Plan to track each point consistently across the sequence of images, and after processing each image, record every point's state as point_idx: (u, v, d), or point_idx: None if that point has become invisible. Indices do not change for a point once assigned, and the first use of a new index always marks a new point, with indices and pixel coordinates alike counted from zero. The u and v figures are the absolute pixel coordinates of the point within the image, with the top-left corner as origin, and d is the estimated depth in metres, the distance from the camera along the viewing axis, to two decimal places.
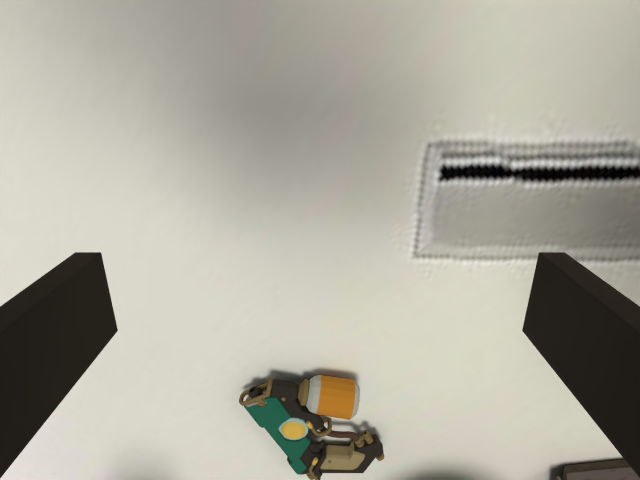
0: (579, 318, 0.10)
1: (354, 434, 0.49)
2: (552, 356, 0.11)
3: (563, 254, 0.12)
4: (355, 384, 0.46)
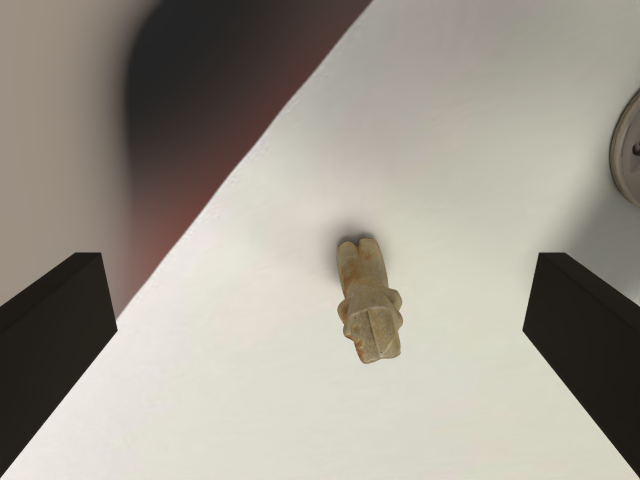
0: (579, 318, 0.10)
1: None
2: (553, 356, 0.11)
3: (563, 254, 0.12)
4: None
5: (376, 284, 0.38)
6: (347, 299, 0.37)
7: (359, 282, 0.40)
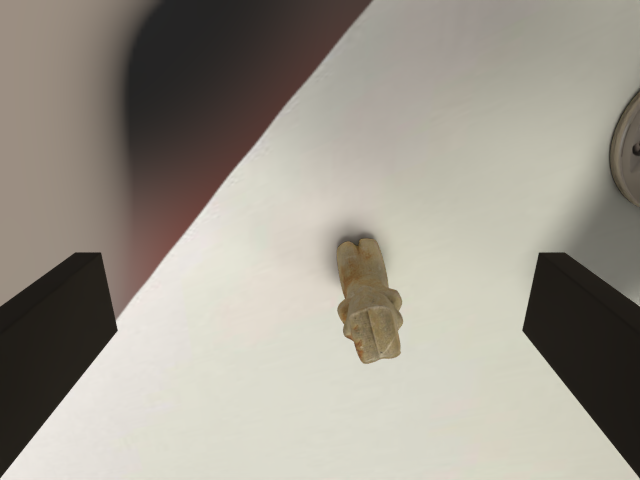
0: (579, 318, 0.10)
1: None
2: (553, 356, 0.11)
3: (563, 254, 0.12)
4: None
5: (376, 284, 0.38)
6: (347, 299, 0.37)
7: (359, 282, 0.40)
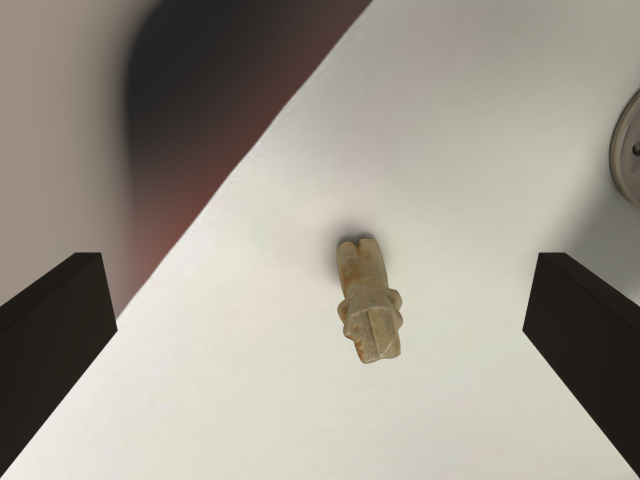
0: (579, 318, 0.10)
1: None
2: (553, 356, 0.11)
3: (563, 254, 0.12)
4: None
5: (376, 284, 0.38)
6: (347, 299, 0.37)
7: (359, 282, 0.40)
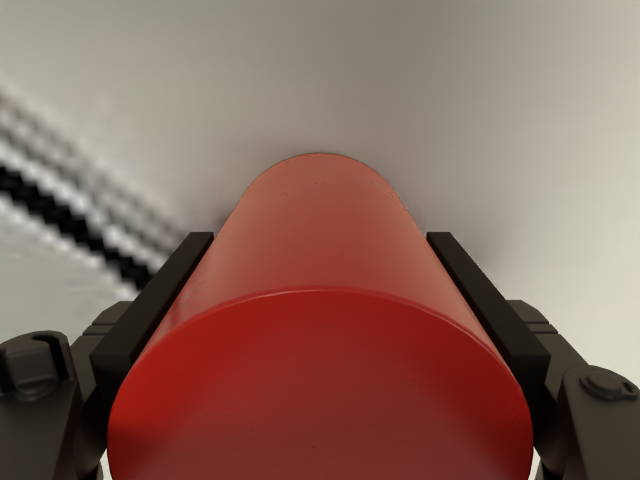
0: None
1: None
2: None
3: (448, 233, 0.14)
4: None
5: None
6: None
7: None
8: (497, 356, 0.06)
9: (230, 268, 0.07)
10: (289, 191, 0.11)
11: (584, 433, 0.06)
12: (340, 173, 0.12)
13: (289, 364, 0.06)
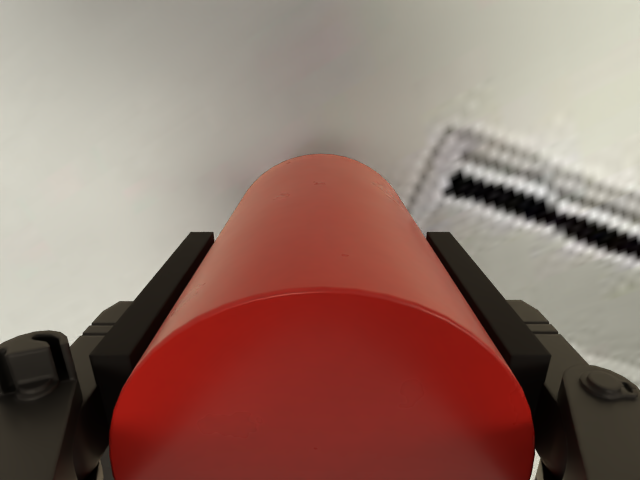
0: None
1: None
2: None
3: (448, 233, 0.14)
4: None
5: None
6: None
7: None
8: (498, 357, 0.06)
9: (232, 269, 0.07)
10: (290, 192, 0.11)
11: (584, 433, 0.06)
12: (341, 174, 0.12)
13: (291, 365, 0.06)
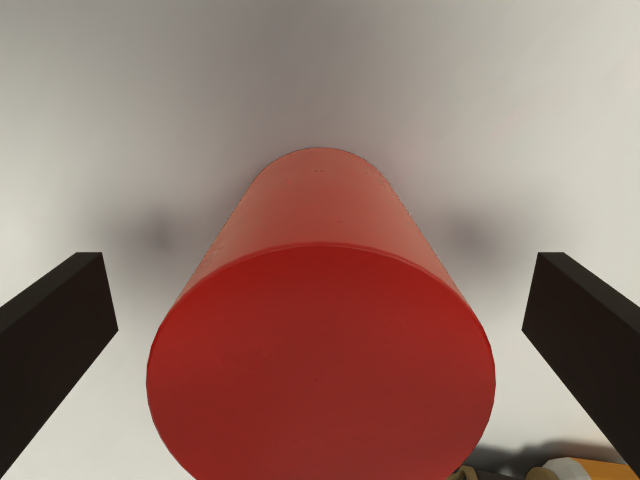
0: (578, 317, 0.10)
1: None
2: (552, 356, 0.11)
3: (562, 254, 0.12)
4: None
5: None
6: None
7: None
8: (463, 301, 0.08)
9: (247, 234, 0.08)
10: (293, 178, 0.12)
11: None
12: (338, 164, 0.14)
13: (296, 307, 0.08)
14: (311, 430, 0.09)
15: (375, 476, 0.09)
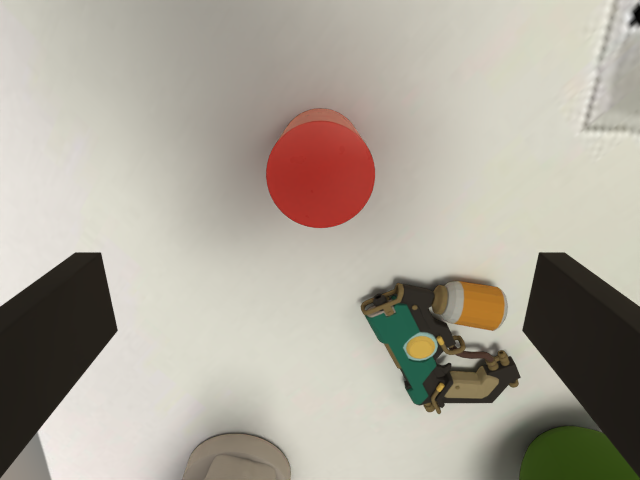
0: (579, 318, 0.10)
1: (488, 354, 0.42)
2: (552, 356, 0.11)
3: (563, 254, 0.12)
4: (500, 289, 0.39)
5: None
6: None
7: None
8: (362, 140, 0.26)
9: (297, 123, 0.27)
10: (309, 114, 0.31)
11: None
12: (328, 112, 0.32)
13: (313, 141, 0.26)
14: (317, 187, 0.27)
15: (338, 207, 0.28)
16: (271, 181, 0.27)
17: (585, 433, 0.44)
